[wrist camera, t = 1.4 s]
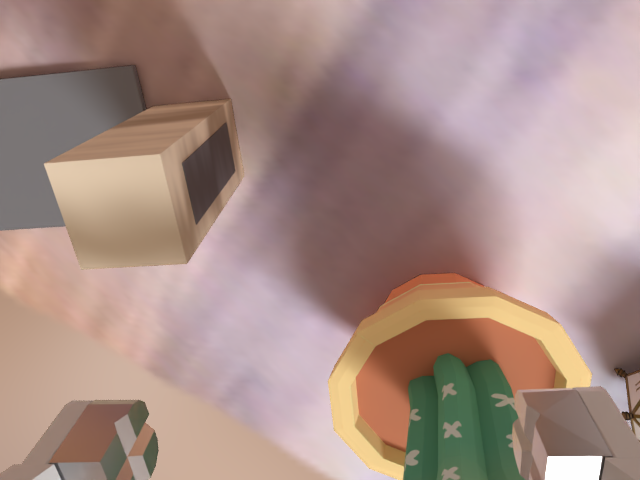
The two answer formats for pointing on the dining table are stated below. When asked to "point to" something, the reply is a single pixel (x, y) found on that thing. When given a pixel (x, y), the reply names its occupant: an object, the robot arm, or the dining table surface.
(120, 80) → the mat
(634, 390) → the game die
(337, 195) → the dining table surface
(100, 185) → the birch block
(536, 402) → the robot arm
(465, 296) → the potted cactus
